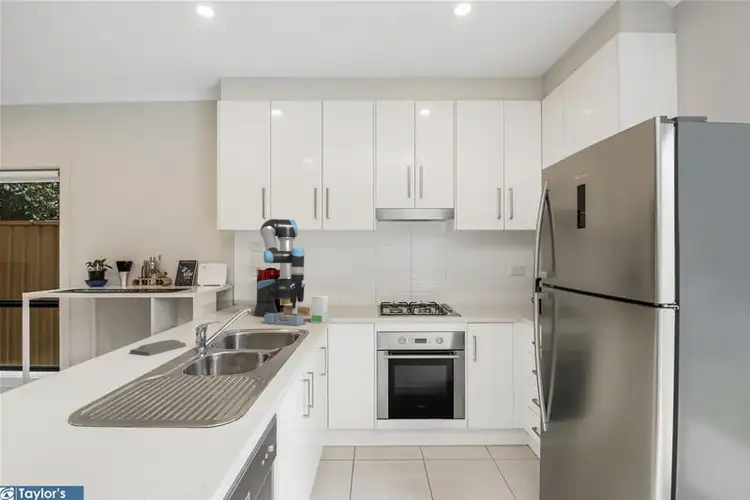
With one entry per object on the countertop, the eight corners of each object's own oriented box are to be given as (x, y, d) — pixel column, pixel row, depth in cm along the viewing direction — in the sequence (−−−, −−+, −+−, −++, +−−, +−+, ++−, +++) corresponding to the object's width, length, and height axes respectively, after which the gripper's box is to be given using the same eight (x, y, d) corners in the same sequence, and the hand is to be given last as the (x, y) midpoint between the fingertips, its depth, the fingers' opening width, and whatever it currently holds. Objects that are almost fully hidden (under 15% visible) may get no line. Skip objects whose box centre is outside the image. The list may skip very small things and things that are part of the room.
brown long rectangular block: (286, 313, 271) (287, 305, 271) (309, 315, 265) (310, 307, 265) (283, 314, 267) (283, 306, 267) (306, 316, 261) (307, 308, 261)
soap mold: (128, 355, 174) (128, 346, 174) (167, 346, 193) (168, 338, 193) (149, 357, 170) (149, 348, 170) (187, 347, 189) (187, 339, 189)
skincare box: (310, 322, 265) (310, 296, 265) (316, 321, 271) (316, 295, 271) (323, 323, 261) (323, 296, 262) (328, 321, 268) (328, 295, 268)
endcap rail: (271, 321, 267) (271, 312, 268) (306, 323, 258) (306, 315, 258) (261, 323, 258) (261, 314, 258) (296, 326, 249) (296, 317, 249)
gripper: (299, 273, 275) (298, 311, 275) (284, 274, 260) (283, 314, 260) (310, 273, 272) (309, 312, 272) (295, 274, 257) (294, 315, 257)
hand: (296, 313), depth 266 cm, fingers closed on brown long rectangular block, 3 cm apart
